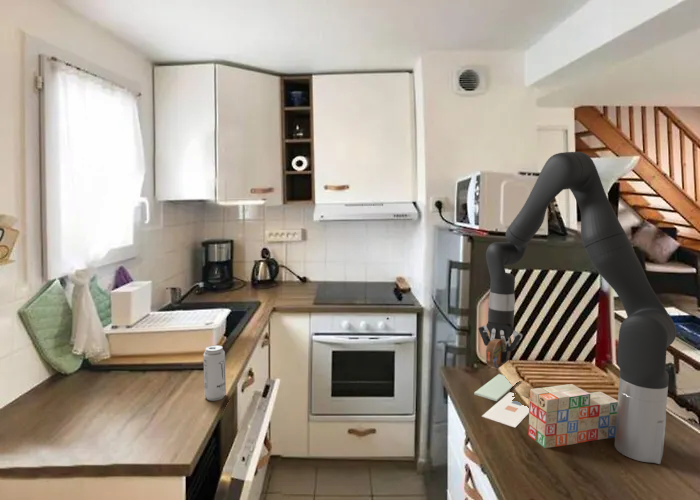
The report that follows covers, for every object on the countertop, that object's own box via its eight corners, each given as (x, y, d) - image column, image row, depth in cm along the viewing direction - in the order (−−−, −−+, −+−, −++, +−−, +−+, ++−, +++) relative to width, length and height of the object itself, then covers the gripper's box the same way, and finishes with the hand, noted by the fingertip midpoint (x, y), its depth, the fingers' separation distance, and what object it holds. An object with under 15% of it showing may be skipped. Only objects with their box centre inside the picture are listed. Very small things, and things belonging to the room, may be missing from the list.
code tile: (539, 404, 127) (540, 400, 127) (515, 431, 112) (515, 427, 112) (509, 395, 133) (509, 391, 133) (481, 419, 118) (481, 415, 117)
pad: (519, 381, 141) (520, 379, 141) (496, 401, 126) (496, 399, 126) (498, 375, 145) (498, 373, 145) (474, 394, 131) (474, 392, 131)
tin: (493, 372, 128) (495, 344, 127) (483, 369, 130) (484, 342, 129) (512, 358, 140) (513, 333, 139) (502, 356, 142) (504, 331, 141)
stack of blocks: (598, 425, 114) (601, 379, 112) (618, 437, 108) (622, 390, 106) (527, 435, 108) (529, 388, 107) (544, 449, 102) (547, 399, 101)
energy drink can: (222, 401, 125) (220, 351, 124) (201, 401, 125) (200, 351, 124) (228, 392, 131) (227, 344, 130) (208, 392, 131) (207, 344, 130)
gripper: (528, 308, 131) (525, 363, 133) (484, 301, 140) (482, 352, 142) (520, 313, 126) (517, 370, 128) (474, 305, 135) (472, 359, 137)
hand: (498, 360), depth 135 cm, fingers closed on tin, 2 cm apart
